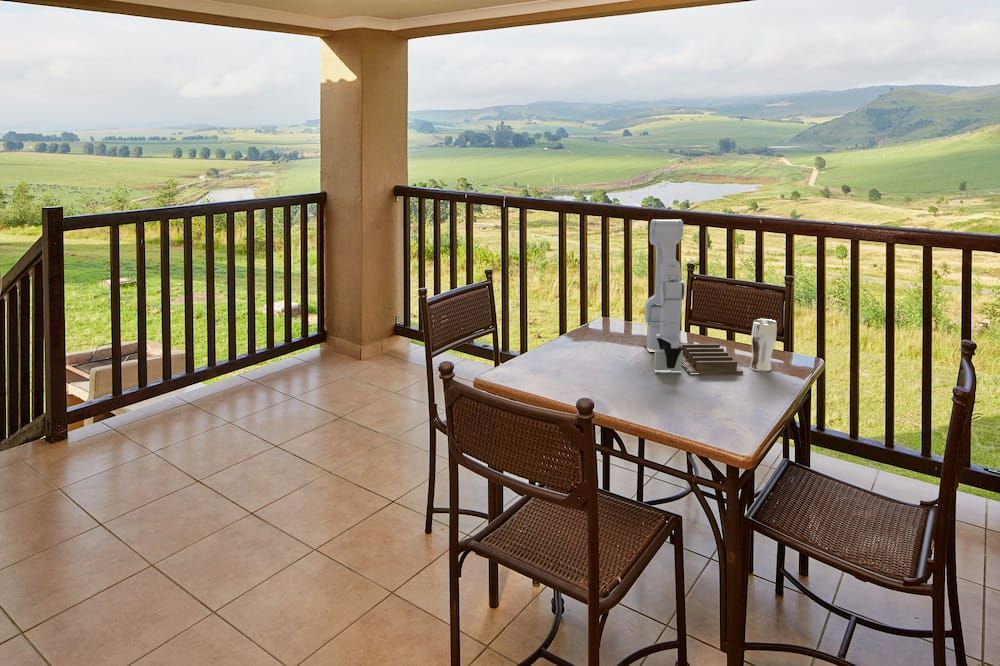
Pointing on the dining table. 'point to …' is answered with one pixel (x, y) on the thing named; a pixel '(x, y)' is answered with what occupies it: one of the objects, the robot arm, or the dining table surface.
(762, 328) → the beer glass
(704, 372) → the rack
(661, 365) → the tile
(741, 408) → the dining table surface
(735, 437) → the dining table surface
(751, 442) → the dining table surface
